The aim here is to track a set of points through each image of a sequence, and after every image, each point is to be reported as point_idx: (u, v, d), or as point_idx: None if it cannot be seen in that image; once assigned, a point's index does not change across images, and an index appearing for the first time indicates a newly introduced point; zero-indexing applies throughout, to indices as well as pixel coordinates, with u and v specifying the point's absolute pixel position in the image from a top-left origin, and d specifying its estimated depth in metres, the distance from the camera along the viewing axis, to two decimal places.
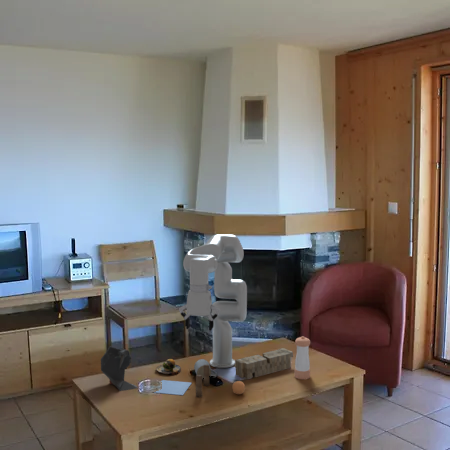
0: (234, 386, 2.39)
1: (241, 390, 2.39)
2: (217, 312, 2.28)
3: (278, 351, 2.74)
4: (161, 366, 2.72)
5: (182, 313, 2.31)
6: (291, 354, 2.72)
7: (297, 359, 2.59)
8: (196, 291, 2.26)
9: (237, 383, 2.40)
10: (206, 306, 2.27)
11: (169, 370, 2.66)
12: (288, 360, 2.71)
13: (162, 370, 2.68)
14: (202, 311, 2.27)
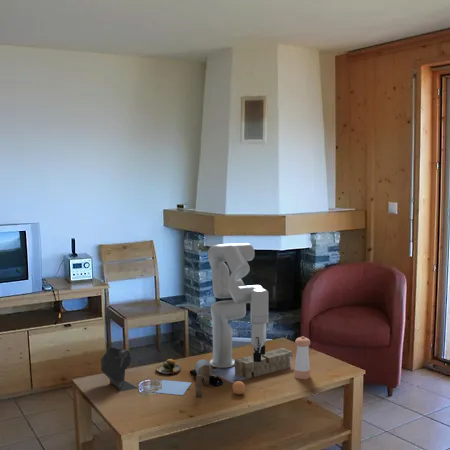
0: (234, 386, 2.39)
1: (241, 390, 2.39)
2: None
3: (277, 351, 2.74)
4: (161, 366, 2.72)
5: (258, 348, 2.30)
6: (290, 354, 2.72)
7: (297, 359, 2.59)
8: None
9: (237, 383, 2.40)
10: None
11: (169, 370, 2.66)
12: (287, 360, 2.72)
13: (162, 370, 2.68)
14: (265, 338, 2.38)
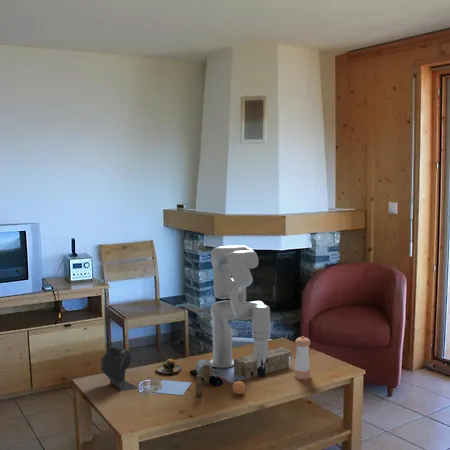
0: (234, 386, 2.39)
1: (241, 390, 2.39)
2: None
3: (276, 350, 2.75)
4: (161, 366, 2.72)
5: (262, 364, 2.35)
6: (289, 353, 2.73)
7: (297, 359, 2.59)
8: (269, 336, 2.35)
9: (237, 383, 2.40)
10: None
11: (169, 370, 2.66)
12: (286, 359, 2.72)
13: (162, 370, 2.68)
14: None
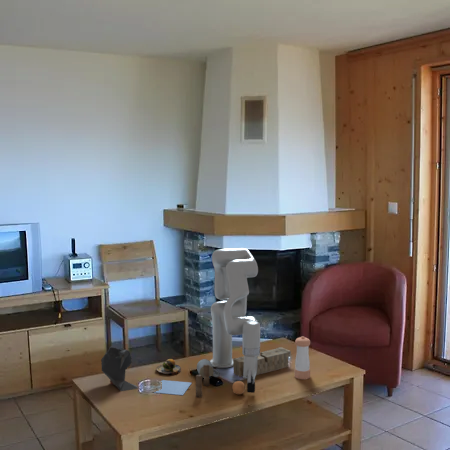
0: (234, 386, 2.39)
1: (241, 390, 2.39)
2: None
3: (276, 350, 2.76)
4: (161, 366, 2.72)
5: (252, 379, 2.37)
6: (289, 353, 2.73)
7: (297, 359, 2.59)
8: (259, 352, 2.37)
9: (237, 383, 2.40)
10: (257, 363, 2.42)
11: (169, 370, 2.66)
12: (286, 359, 2.73)
13: (162, 370, 2.68)
14: None
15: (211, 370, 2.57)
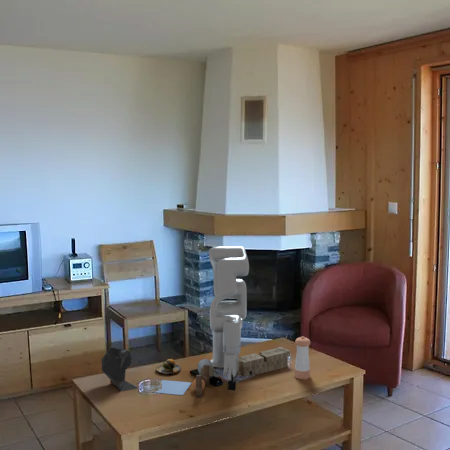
0: (194, 383, 2.43)
1: None
2: None
3: (275, 350, 2.76)
4: (161, 366, 2.72)
5: (232, 377, 2.39)
6: (288, 353, 2.74)
7: (297, 359, 2.59)
8: (240, 350, 2.39)
9: None
10: (238, 361, 2.44)
11: (169, 370, 2.66)
12: (285, 359, 2.73)
13: (162, 370, 2.68)
14: (237, 368, 2.42)
15: (212, 370, 2.57)
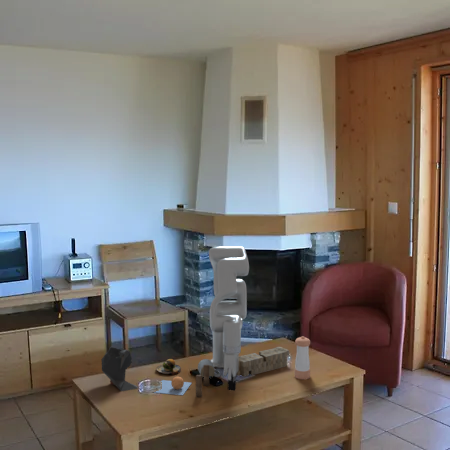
0: (180, 386, 2.44)
1: (172, 384, 2.44)
2: None
3: (274, 349, 2.76)
4: (161, 366, 2.72)
5: (232, 377, 2.39)
6: (287, 352, 2.74)
7: (297, 359, 2.59)
8: (240, 350, 2.39)
9: None
10: (238, 361, 2.44)
11: (169, 370, 2.66)
12: (284, 358, 2.74)
13: (162, 370, 2.68)
14: (237, 368, 2.42)
15: (212, 370, 2.57)
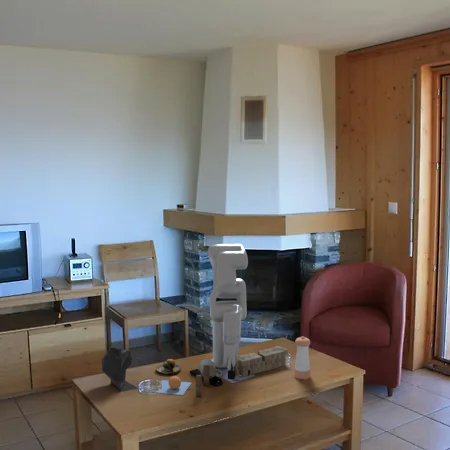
0: (177, 384, 2.44)
1: (170, 385, 2.45)
2: None
3: (273, 349, 2.77)
4: (161, 366, 2.72)
5: (232, 367, 2.39)
6: (286, 352, 2.75)
7: (297, 359, 2.59)
8: (240, 340, 2.39)
9: (177, 387, 2.45)
10: (238, 351, 2.44)
11: (169, 370, 2.66)
12: (283, 358, 2.75)
13: (162, 370, 2.68)
14: (237, 357, 2.43)
15: (214, 370, 2.57)
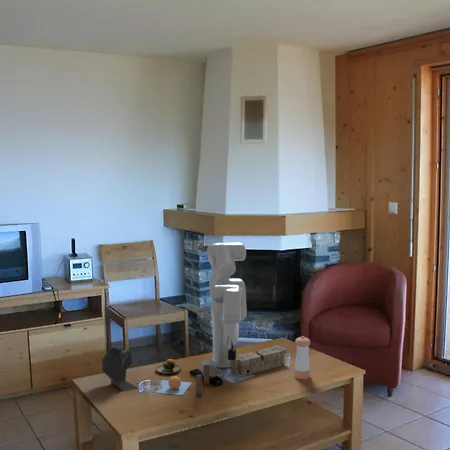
0: (177, 384, 2.44)
1: (170, 385, 2.45)
2: None
3: (272, 348, 2.78)
4: (161, 366, 2.72)
5: (232, 346, 2.37)
6: (285, 351, 2.76)
7: (297, 359, 2.59)
8: (240, 319, 2.38)
9: (177, 387, 2.45)
10: (238, 331, 2.42)
11: (169, 370, 2.66)
12: (282, 357, 2.75)
13: (162, 370, 2.68)
14: (237, 337, 2.41)
15: (215, 370, 2.57)
